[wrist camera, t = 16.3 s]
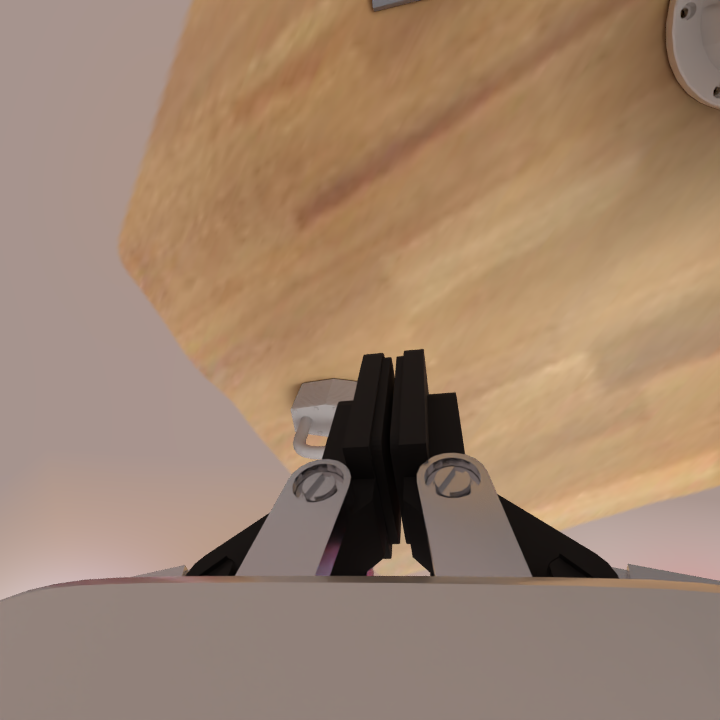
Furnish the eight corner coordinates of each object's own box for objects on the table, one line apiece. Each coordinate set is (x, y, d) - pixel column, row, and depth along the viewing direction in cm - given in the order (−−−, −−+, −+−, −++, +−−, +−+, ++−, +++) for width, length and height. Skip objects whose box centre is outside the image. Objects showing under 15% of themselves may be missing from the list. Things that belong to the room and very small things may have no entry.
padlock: (367, 376, 44) (354, 439, 35) (370, 408, 46) (359, 475, 37) (301, 377, 45) (273, 438, 36) (306, 408, 47) (281, 473, 38)
